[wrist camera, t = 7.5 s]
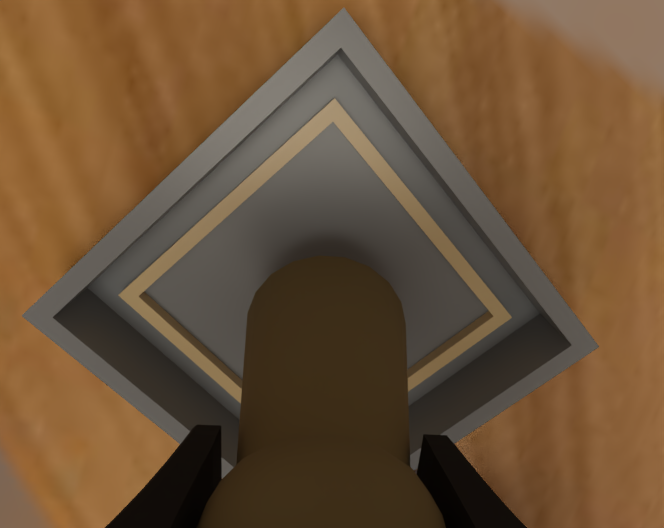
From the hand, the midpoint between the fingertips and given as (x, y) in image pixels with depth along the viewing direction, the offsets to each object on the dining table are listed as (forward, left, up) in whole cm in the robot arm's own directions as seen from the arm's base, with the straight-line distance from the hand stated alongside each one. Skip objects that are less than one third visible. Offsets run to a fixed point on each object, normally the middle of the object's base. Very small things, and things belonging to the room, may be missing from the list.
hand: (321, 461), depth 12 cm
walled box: (0, 0, -10) cm, 10 cm away
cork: (0, 0, -7) cm, 7 cm away
